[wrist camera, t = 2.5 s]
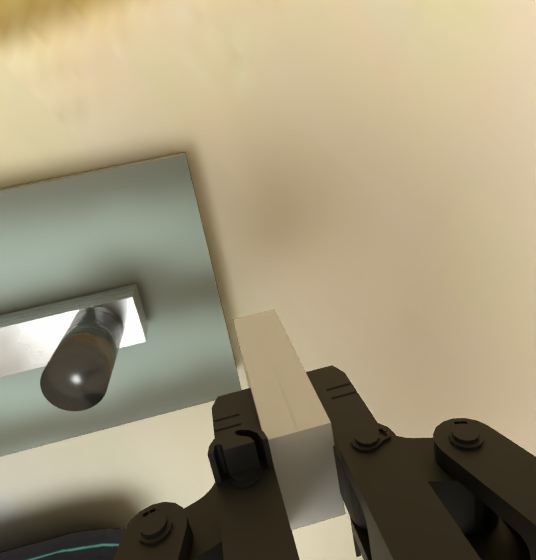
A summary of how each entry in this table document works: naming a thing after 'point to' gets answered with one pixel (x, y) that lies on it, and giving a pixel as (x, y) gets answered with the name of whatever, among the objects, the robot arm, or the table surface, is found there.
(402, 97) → the table surface
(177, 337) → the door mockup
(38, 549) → the portable speaker
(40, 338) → the grey piece
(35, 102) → the table surface
